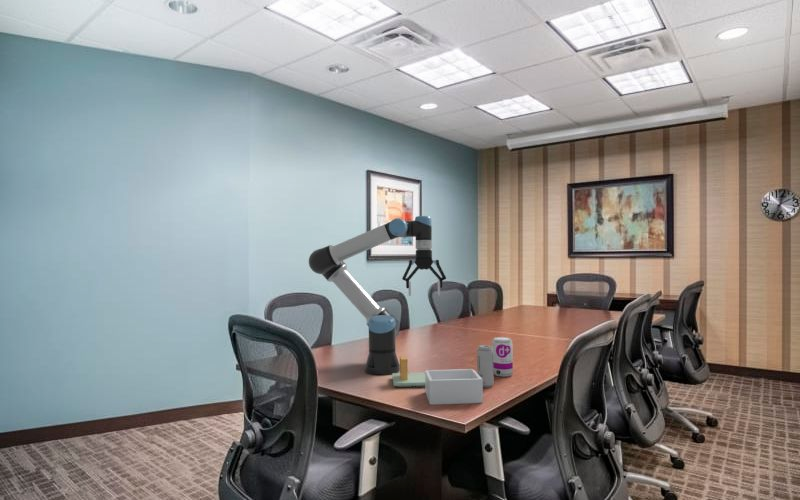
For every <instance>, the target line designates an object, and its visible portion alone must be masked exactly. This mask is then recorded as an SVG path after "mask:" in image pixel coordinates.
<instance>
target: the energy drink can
mask: <svg viewBox="0 0 800 500" xmlns="http://www.w3.org/2000/svg"><path fill="white" fill-rule="evenodd" d="M476 352H477V353H476V357H477V358H476V359H477V362H476V363H477V373H478V375H479V376H480V377H481V378H482V379H483V388H492V387H493V385H494V384H495V383H494V379H495V378H494V376H495V375H494V373H493V350H492V345H489V344H488V345H487V344H481V345H478V349H477V351H476Z"/></svg>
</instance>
